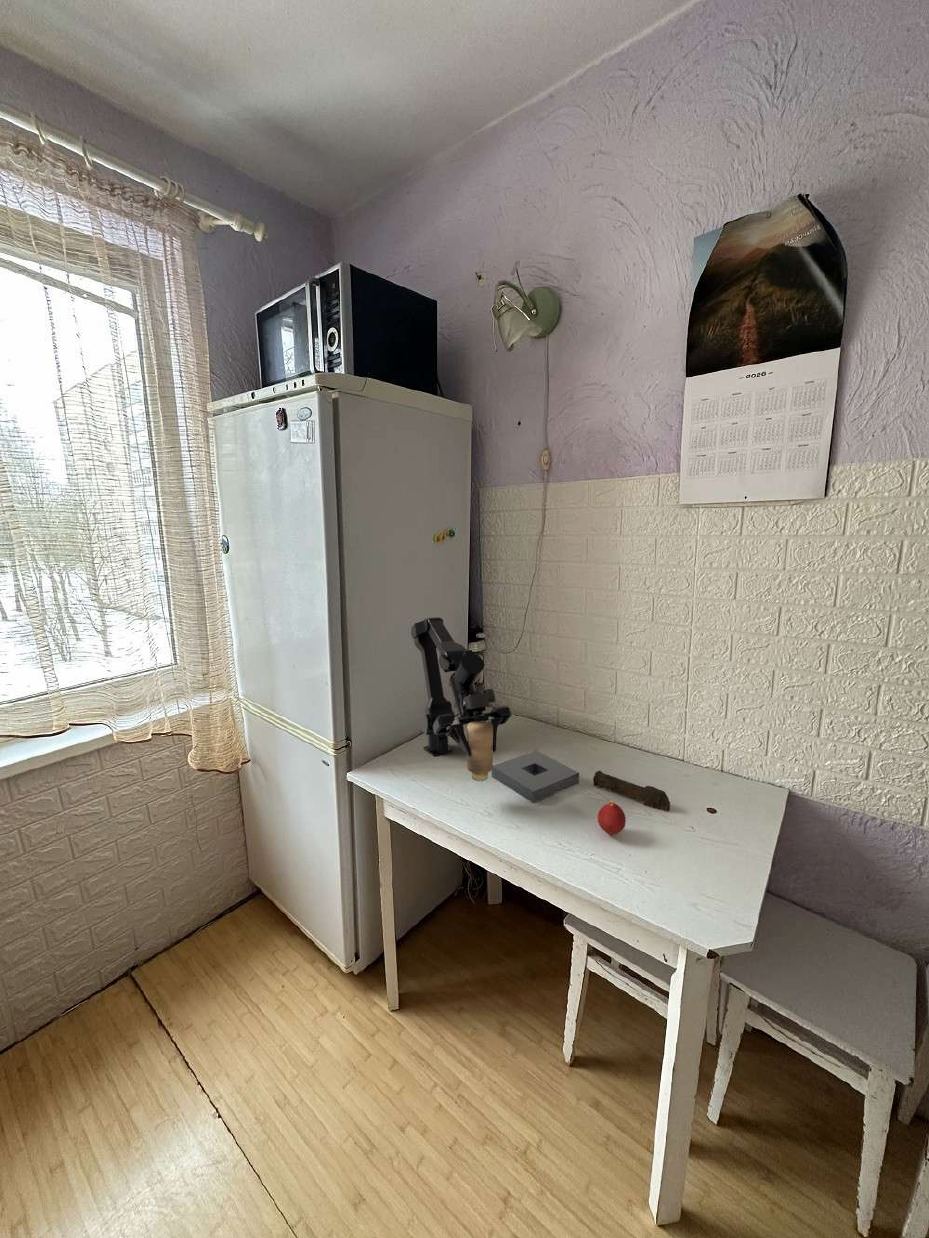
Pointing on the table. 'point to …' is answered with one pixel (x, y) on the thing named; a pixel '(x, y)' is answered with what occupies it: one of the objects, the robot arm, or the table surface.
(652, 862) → the table surface
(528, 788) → the socket block
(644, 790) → the hand tool
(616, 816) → the red pomegranate
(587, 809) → the table surface
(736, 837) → the table surface
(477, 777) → the walnut pin
